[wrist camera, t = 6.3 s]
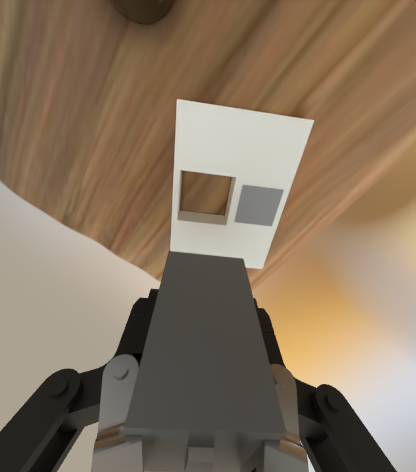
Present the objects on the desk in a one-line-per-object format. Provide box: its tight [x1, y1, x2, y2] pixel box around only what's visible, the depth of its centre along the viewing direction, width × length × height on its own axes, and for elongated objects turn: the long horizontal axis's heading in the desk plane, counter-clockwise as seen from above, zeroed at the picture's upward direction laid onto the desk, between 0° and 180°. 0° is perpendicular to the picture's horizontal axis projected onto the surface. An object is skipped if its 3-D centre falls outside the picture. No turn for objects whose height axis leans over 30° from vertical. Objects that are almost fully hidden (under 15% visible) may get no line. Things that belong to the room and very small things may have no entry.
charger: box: [124, 251, 287, 472], centre depth 10 cm, size 4×4×8 cm
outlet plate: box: [170, 99, 314, 269], centre depth 27 cm, size 20×14×3 cm
